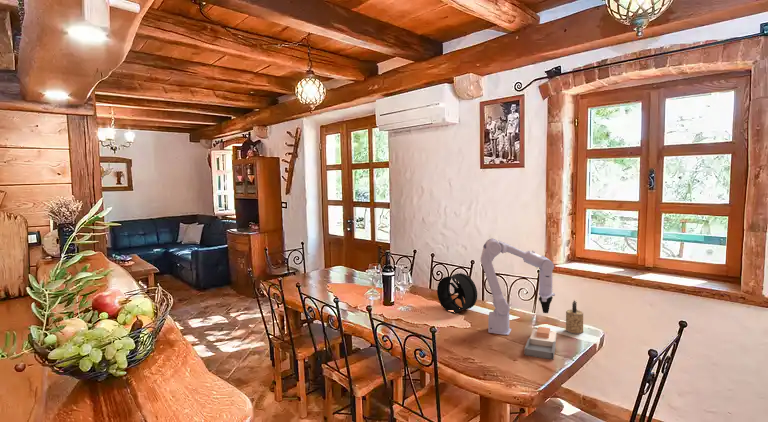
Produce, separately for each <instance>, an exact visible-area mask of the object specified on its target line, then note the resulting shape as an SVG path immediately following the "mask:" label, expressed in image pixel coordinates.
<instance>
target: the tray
mask: <svg viewBox="0 0 768 422" xmlns="http://www.w3.org/2000/svg"><path fill="white" fill-rule="evenodd" d="M556 343H557V342H555V341H554V342H553V346H552V347H550V346H543V345H536V344H530V337H527V341H526V343H525V346H524V349H523V350H524V353H523V354H524V356H528V357H534V358H539V359H547V360H553V361H554V359H555V353H556V352H555V351H556V347H557V345H556Z"/></svg>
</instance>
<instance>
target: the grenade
mask: <svg viewBox="0 0 768 422" xmlns="http://www.w3.org/2000/svg"><path fill="white" fill-rule="evenodd" d="M571 304H572V305H571V306H572V308H571V309H568V310H566V311H565V330H566V332H567V333H569V334H575V335H579V334H582V333H584V312H583V311H581V310H579V309H578V308H577V304H578V302H577V301H576V300H575V299H573V301H572V303H571Z"/></svg>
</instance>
